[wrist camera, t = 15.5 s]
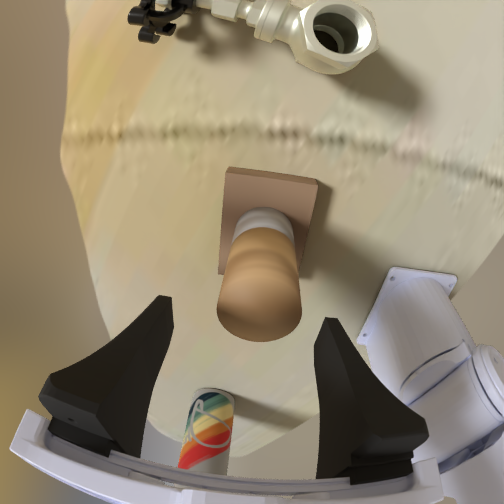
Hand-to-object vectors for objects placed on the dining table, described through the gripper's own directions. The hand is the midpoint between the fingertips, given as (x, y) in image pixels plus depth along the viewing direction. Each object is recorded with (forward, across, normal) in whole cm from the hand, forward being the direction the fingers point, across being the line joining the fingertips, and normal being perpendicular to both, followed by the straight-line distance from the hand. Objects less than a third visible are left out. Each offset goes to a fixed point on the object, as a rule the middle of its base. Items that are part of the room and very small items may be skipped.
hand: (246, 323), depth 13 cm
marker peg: (+8, -1, 0) cm, 8 cm away
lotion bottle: (+10, +2, +26) cm, 28 cm away
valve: (+10, +2, -14) cm, 18 cm away
